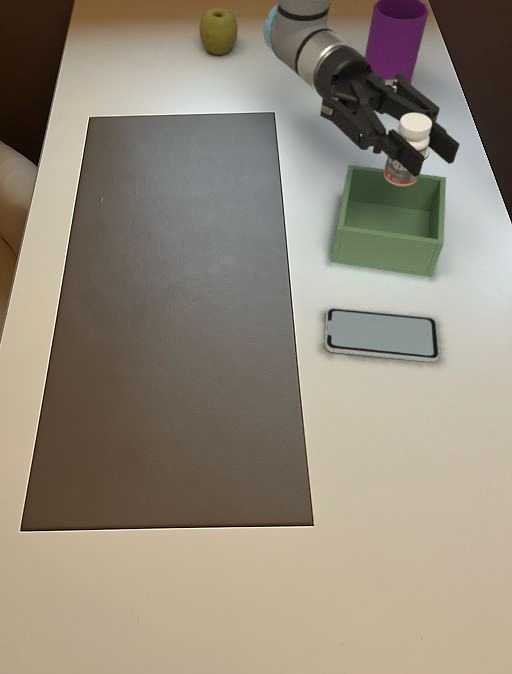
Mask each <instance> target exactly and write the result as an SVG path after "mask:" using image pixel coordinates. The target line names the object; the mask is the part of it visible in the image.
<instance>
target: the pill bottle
mask: <svg viewBox="0 0 512 674" xmlns="http://www.w3.org/2000/svg"><path fill="white" fill-rule="evenodd" d="M431 126H432V121H431V120H430V118H429V117H427V116H426V115H424V114H420V113H408V114H405V115H404V116H402V118H401V119H400V121H399V124H398V127H397V129H395V131H396V132H397V133H399V134H400V135H401V136H402V137H403V138H404V139H405V140H406V141H408V142H409V143H410V144H411V145H412V146H413V147H414V148H415V149H417V150H418V151H419V152H420V153H421V154H422V155H423V156H425V157H426V154H427V152H428V151H427V150H428V148H429V147H428V145H429V141H430V138H429V133H430V130H431ZM383 169H384V177H385V178H386V180H387V181H389V182H390V183H392V184H394V185H397V186H408V185H411V184H413V183H415V182H416V181H417V179H418V177H419V175H418V176H416V177H414V176H413V175H412V174H411V173H410V172H409V171H408V170H407V169H405V168H404V167H403V166H402V165H401V164H400V163H399V162H398V161H397V160H396V159H395V160H393V159H391V158H389V157H388V156H387V158H386V162H385V165H384V168H383Z"/></svg>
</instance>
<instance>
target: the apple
mask: <svg viewBox="0 0 512 674" xmlns="http://www.w3.org/2000/svg"><path fill="white" fill-rule="evenodd" d="M238 26H239V25H238V20H237V18H236V17H235V15H234V13H233V12H231V11H230V9H226V8H221V7H220V8H219V7H217V8H211V9H210V8H209V9H208V10H206V11H205V12H204V13H203V15H202V17H201V18H200V21H199V26H198V27H199V28H198V29H199V36H200V39H201V42H202V45H203V46H204V48H205V49H206V51H208V52H209V53H210V54H213V55H216V56H223V55H225V54H227V53H228V52H230V50H231V49H233V46H234V45H235V43H236V41H237V37H238V31H239V27H238Z"/></svg>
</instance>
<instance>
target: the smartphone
mask: <svg viewBox="0 0 512 674" xmlns="http://www.w3.org/2000/svg"><path fill="white" fill-rule="evenodd" d="M324 330H325V332H324V348H325V349H326V350H327V351H328V352H330V353H337V354H344V355H345V354H346V355H355V356H366V357H376V358H387V359H397V360H405V361H406V360H407V361H416V362H426V363H435V362H437V361H438V359H439V358H440V355H441V351H440V342H439V341H440V340H439V332H438V323H437V320H436V319H435V318H434V317H431V316H426V315H413V314H404V313H394V312H383V311H373V310H362V309H352V308H341V307H330V308H328V309H327V310H326V313H325V329H324Z"/></svg>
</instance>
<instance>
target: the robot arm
mask: <svg viewBox="0 0 512 674" xmlns="http://www.w3.org/2000/svg"><path fill="white" fill-rule="evenodd" d="M330 5H331V0H277V3H276V4H275V5H274V6H273V7H272V8H271V10H270V11H269V12H268V14H267V18H266V20H265V22H264V24H263V30H262V31H263V38H264V42H265V43H266V45H267V46H268V48H269V49H270V50H271V51H272V53H273V54H274V56H275V57H276V58H277V59H278V60H279V61H280V62H282V63H284V65H286V66H287V67H289V69H291V71H293V72H294V73H295V74H296V75H297V76H298V77H299V78H300V79H301V80H303V82H305V83H306V84H307V85H308V86H309V87H310V89H312V90H313V91H315V92H316V93H317V94H318V96H319V97H320V98H321V99H322V100H321V105H320V113H319V114H320V115H319V116H320V117H321V118H324V119H326V120H327V121H329V122H331V123H332V124H333V125H335V126H336V127H337V128H338V129H339V130H340V131H341V132H342V134H344V135H345V136H346V137H347V138H348V139H349V140H350V141H351V142H353V144H354V145H355V146H357V147H358V148H359V149H360V150H361V151H367V150H369V147H373V149H372V153H374V154H375V155H380V154H381V153H384V155H386V156H387V157H389V158H391V159H393V160H395V159H396V160H397V161H398V162H399V163H400V164H401V165H402V166H403V167H404V168H405V169H407V170H408V171H409V172H410V173H411V174H412V175H413V176H414V177H416V176H418V175H419V174H421V171H422V167H423V164H424V161H425V158H426V155H425V156H423V155H422V154H421V153H420V152H419V151H418V150H417V149H415V148H414V147H413V146H412V145H411V144H410V143H409V142H408V141H406V140H405V139H404V138H403V137H402V136H401V135H400V134H399V133H397V132H396V129H394V128H392V129H389V130H388V132H387V128H386V127H385V125H384V124H383V122H382V121H381V120H380V119H381V118H379V116H378V115H377V113H378V114H380V115H384V114H386V115H387V116H390V117H391V118H393V119H395V120H397V121H398V122H400V119H401V118H402V116H404V115H405V114H408V113H420V114H424V115H426V116H427V117H429V118H430V120H431V121H432V126H431V130H430V133H429V138H430V141H429V145H428V148H429V149H431V150H432V151H433V152H434V153H435V154H436V155H438V156H439V157H440V158H441V159H442V160H443V161H445V162H446V163H447V164H448V165H450V164H453V163H454V162H455V159H456V157H457V153H458V151H459V148H460V145H461V144H460V143H459V142H458V141H457V140H456V139H454V137H452V136H451V135H450V134H448V131H447V130H446V129H445V128H444V127H443V126H441V124H439V123H438V122H437V119H438V116H439V113H440V109H441V108H440V107H439V106H438V105H436V103H434V101H432V100H431V99H429V98H428V97H426V95H424V94H423V93H422V92H421V91H420V90H418V89H417V88H416V87H414V86H413V85H412V84H409V83H408V82H407V81H406V79H405V77H404V75H403V74H400V73H398V74H396V75H395V78H394V79H393V80H385V79H384V78H383V77H382V76H379V75H376V74H374V73H373V71H372V69H371V66H370V64H369V62H368V60H367V59H366V58H365V56H364V55H362V54H361V53H360V52H359V51H358V50H356V49H355V48H354V47H352V46H351V45H350V44H349V42H347V41H346V40H345V39H343V38H342V37H341V36H339V35H338V34H337V33H336V32H334V31H333V30H332V29H331V28H330V27H329V26H328V17H329V11H330Z"/></svg>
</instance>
